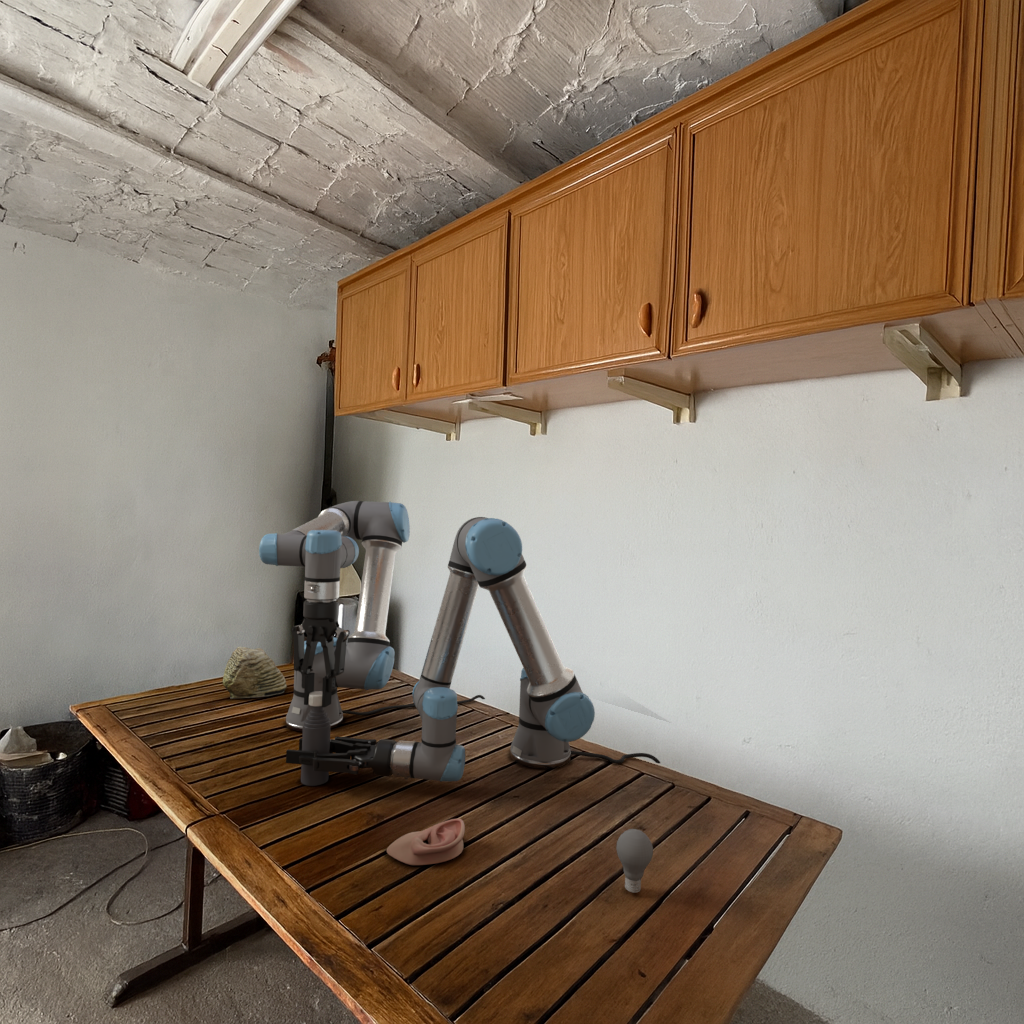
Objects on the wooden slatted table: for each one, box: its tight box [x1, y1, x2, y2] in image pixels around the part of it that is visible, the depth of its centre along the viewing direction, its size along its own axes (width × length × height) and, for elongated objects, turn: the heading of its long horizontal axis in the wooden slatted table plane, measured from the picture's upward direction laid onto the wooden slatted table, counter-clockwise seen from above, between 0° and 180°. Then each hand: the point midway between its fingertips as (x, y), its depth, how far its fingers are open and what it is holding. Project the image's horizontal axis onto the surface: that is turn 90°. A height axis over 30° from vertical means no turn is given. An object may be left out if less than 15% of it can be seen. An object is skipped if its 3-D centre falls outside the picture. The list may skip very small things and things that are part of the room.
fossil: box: [222, 646, 288, 699], centre depth 198 cm, size 9×18×15 cm, turn 132°
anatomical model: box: [386, 818, 466, 866], centre depth 115 cm, size 13×4×12 cm
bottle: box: [300, 706, 331, 787], centre depth 141 cm, size 6×6×19 cm
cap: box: [309, 691, 322, 706], centre depth 141 cm, size 4×4×2 cm
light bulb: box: [615, 828, 654, 894], centre depth 106 cm, size 6×6×10 cm
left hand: (317, 704), depth 141 cm, fingers closed on cap, 4 cm apart
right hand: (293, 750), depth 142 cm, fingers closed on bottle, 6 cm apart
